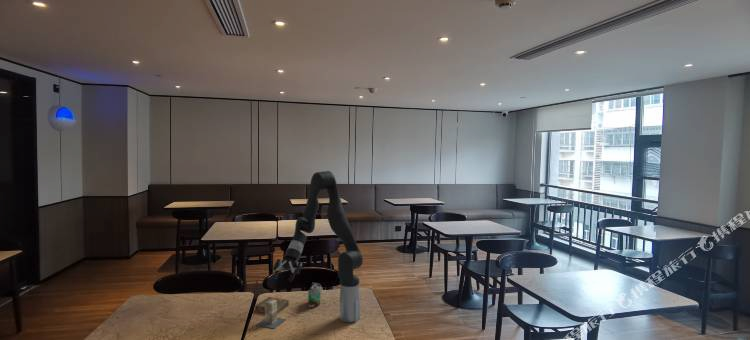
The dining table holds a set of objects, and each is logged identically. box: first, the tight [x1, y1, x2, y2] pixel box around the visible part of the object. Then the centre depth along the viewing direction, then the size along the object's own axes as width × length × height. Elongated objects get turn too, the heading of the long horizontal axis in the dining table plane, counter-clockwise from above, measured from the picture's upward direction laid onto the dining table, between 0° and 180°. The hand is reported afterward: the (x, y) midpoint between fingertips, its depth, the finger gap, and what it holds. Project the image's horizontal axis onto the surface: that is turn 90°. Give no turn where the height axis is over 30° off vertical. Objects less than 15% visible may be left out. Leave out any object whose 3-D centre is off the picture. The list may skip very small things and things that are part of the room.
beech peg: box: [264, 299, 278, 324], centre depth 180 cm, size 4×4×10 cm
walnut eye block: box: [254, 296, 289, 314], centre depth 196 cm, size 12×12×3 cm
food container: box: [307, 282, 323, 309], centre depth 201 cm, size 12×6×10 cm, turn 179°
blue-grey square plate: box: [255, 317, 287, 330], centre depth 180 cm, size 10×10×1 cm
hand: (282, 279), depth 188 cm, fingers open, 8 cm apart
